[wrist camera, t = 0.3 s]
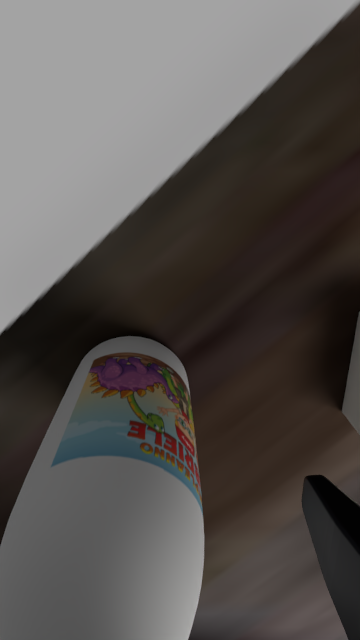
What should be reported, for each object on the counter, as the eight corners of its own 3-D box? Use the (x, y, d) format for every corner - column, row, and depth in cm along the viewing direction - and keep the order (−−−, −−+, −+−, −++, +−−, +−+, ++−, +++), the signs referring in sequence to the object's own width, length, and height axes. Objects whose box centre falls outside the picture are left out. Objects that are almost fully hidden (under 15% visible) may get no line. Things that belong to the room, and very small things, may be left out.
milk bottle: (137, 444, 26) (66, 1132, 7) (54, 385, 23) (-378, 1167, 5) (210, 379, 24) (378, 1084, 5) (126, 309, 21) (-113, 1104, 3)
